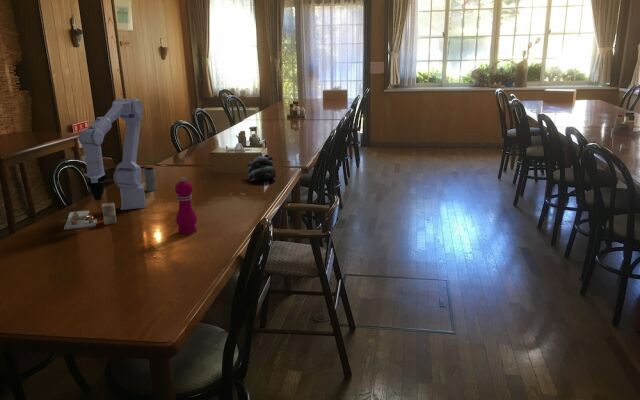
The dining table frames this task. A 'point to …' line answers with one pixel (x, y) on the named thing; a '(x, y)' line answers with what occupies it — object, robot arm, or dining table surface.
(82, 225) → the wire base
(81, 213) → the mat
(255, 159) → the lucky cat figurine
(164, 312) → the dining table surface
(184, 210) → the pepper mill
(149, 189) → the grey upright cylinder
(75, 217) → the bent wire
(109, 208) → the birch block
